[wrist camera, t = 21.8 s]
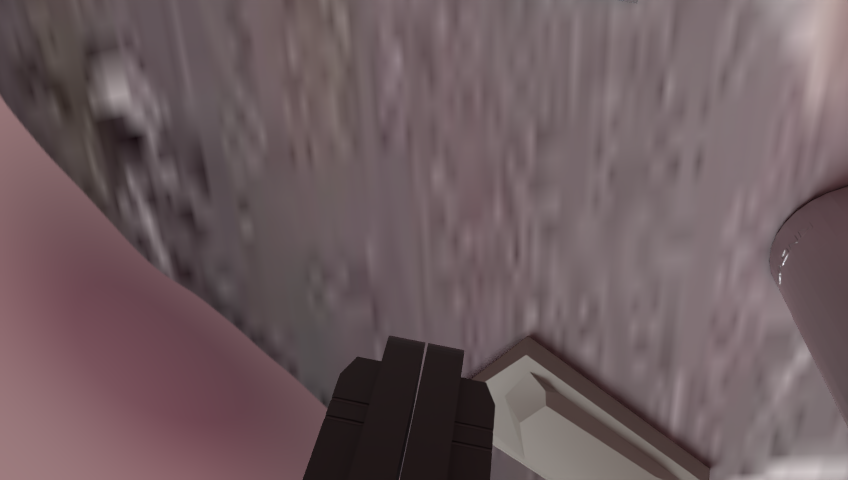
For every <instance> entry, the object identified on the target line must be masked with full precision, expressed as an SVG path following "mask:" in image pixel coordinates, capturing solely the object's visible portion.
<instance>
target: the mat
mask: <svg viewBox="0 0 848 480" xmlns="http://www.w3.org/2000/svg"><path fill="white" fill-rule="evenodd" d="M620 1H626V2H632V3H637V1H638V0H620Z"/></svg>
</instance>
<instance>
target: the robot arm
mask: <svg viewBox="0 0 848 480" xmlns="http://www.w3.org/2000/svg"><path fill="white" fill-rule="evenodd" d="M769 262H770V268H771V274H772V276H773V278H774V280H775V282H776V284H777V286H778V288H779V290H780V292H781V294H782V296H783V298H784V300H785V302H786V304H787V306H788V308H789V310H790V312H791V314H792V317H793V319H794V321H795V323H796V325H797V327H798V329H799V331H800V333H801V335H802V337H803V339H804V341H805V343H806V345H807V347H808V349H809V351H810V353H811V355H812V357H813V359H814V361H815V363H816V365H817V367H818V369H819V371H820V373H821V375H822V377H823V379H824V381H825V383H826V385H827V387H828V389H829V391H830V393H831V395H832V397H833V399H834V401H835V403H836V405H837V407H838V409H839V411H840V413H841V415H842V417H843V419H844V421H845V423H846V425H847V427H848V187H845V188H841V189H838V190H835V191H832V192H829V193H827V194H825V195H823V196H820V197H818V198H816V199H814V200H812V201H811V202H809V203H808V204H806V205H805V206H803V207H802V208H801V209H799V210H798V211H796V212H795V213H794V214H793V215H792V216H791V217H790V218H789V219H788V220H787V221H786V222H785V223H784V225H783V226H782V228H781V229H780V231H779V232H778V234H777V235H776V237H775V240H774V242H773V245H772V247H771V252H770V260H769ZM424 347H425V343H424V342H419V341H414V340H409V339H404V338H399V337H394V336H389V338H388V341H387V344H386V348H385V351H384V355H383V358H382V361H377V360H372V359H367V358H362V357H357V358H356V359H355V360H354V361H353V362H352V363H351V364H350V365H349V366H348V367H347V368H346V369H345V370H344V371H343V372H342V373H340V376H339V378H338V381H337V384H336V387H335V390H334V393H333V395H332V400H331V401H330V404H329V407H328V410H327V412H326V417H325V419H324V421H323V424H322V426H321V429H320V432H319V435H318V438H317V441H316V444H315V446H314V449H313V452H312V455H311V458H310V461H309V463H308V466H307V469H306V472H305V475H304V477H303V480H399V476H400V471H401V466H402V462H403V457H404V452H405V447H406V443H407V438H408V433H409V428H410V423H411V419H412V414H413V408H414V403H415V398H416V392H417V387H418V381H419V375H420V370H421V364H422V359H423V353H424ZM463 357H464V350H460V349H455V348H450V347H445V346H440V345H435V344H430V343H428V347H427V352H426V357H425V361H424V366H423V371H422V376H421V381H420V385H419V390H418V395H417V400H416V405H415V409H414V414H413V419H412V424H411V429H410V433H409V438H408V443H407V448H406V453H405V457H404V462H403V467H402V472H401V477H400V480H490V472H491V458H492V453H491V452H492V445H493V430H494V417H495V403H494V401H493V398H492V396H491V393H490V391H489V388H488V386H487V383H486V382H481V381H476V380H471V379H467V378H462V377H461V372H462V365H463Z"/></svg>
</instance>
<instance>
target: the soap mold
mask: <svg viewBox="0 0 848 480" xmlns="http://www.w3.org/2000/svg"><path fill="white" fill-rule="evenodd" d="M471 380H476V381H481V382H486V383H487V386H488V388H489V391H490V393H491V396H492V398H493V401H494V403H495V417H494V430H493V445H494V446H496V447H497V448H499V449H500V450H502V451H503V452H505V453H506V454H508V455H509V456H511V457H513V458H514V459H516V460H517V461H519V462H520V463H522V464H523V465H525V466H526V467H528V468H529V469H531V470H532V471H534V472H535V473H537V474H539V475H540V476H542V477H543V478H545V479H546V480H709V471H710V469H709V468H708V467H707V466H705V465H704V464H702V463H701V462H700V461H698V460H697V459H696V458H694V457H693V456H692V455H690V454H689V453H687V452H686V451H685V450H683V449H682V448H681V447H679V446H678V445H677V444H675V443H674V442H672V441H671V440H670V439H668V438H667V437H666V436H664V435H663V434H662V433H660V432H659V431H657V430H656V429H655V428H653V427H652V426H651V425H649V424H648V423H646V422H645V421H644V420H642V419H641V418H640V417H638V416H637V415H636V414H634V413H633V412H631V411H630V410H629V409H627V408H626V407H625V406H623V405H622V404H621V403H619V402H618V401H616V400H615V399H614V398H612V397H611V396H610V395H608V394H607V393H605V392H604V391H603V390H601V389H600V388H599V387H597V386H596V385H595V384H593V383H592V382H590V381H589V380H588V379H586V378H585V377H584V376H582V375H581V374H580V373H578V372H577V371H575V370H574V369H573V368H571V367H570V366H569V365H567V364H566V363H564V362H563V361H562V360H560V359H559V358H558V357H556V356H555V355H553V354H552V353H551V352H549V351H548V350H547V349H545V348H544V347H542V346H541V345H540V344H538V343H537V342H536V341H534V340H533V339H532V338H530V337H529V336H527V337H526V338H525V339H523V340H522V341H521V342H520V343H518V344H517V345H516V346H514V347H513V348H512V349H510V350H509V351H508V352H506V353H505V354H504V355H502V356H501V357H500V358H499V359H497V360H496V361H495V362H493V363H492V364H491V365H489V366H488V367H487V368H485V369H484V370H483V371H481V372H480V373H479V374H478V375H476V376H475V377H474V378H472V379H471Z"/></svg>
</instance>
